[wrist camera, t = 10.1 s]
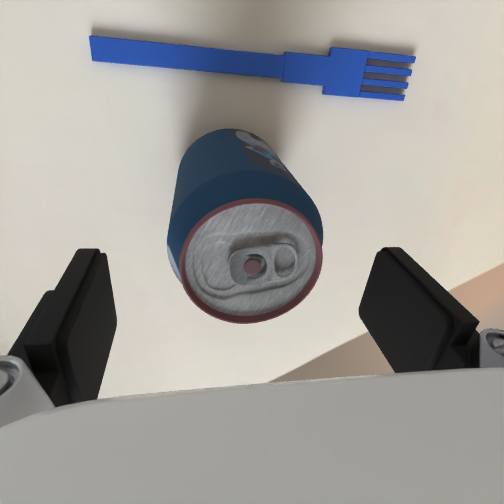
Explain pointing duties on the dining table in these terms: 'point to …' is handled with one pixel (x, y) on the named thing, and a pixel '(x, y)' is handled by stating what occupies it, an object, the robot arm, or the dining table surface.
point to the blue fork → (262, 64)
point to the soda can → (242, 230)
